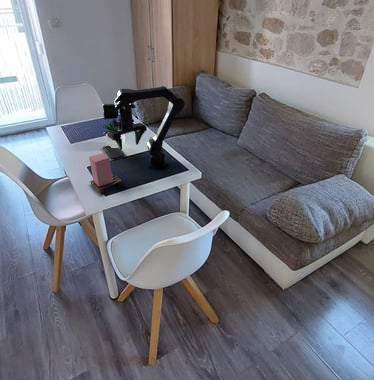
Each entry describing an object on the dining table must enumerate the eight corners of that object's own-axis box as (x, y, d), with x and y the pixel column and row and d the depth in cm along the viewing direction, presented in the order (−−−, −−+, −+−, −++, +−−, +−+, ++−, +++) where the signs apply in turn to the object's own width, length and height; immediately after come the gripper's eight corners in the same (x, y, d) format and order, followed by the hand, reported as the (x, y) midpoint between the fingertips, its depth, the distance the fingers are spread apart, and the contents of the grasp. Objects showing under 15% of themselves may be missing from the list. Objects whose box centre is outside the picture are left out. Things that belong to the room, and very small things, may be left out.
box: (107, 176, 150) (103, 152, 143) (112, 181, 146) (109, 157, 139) (93, 181, 146) (89, 156, 139) (99, 186, 142) (94, 162, 135)
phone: (110, 157, 169) (102, 146, 180) (111, 159, 170) (102, 148, 180) (124, 154, 173) (115, 143, 183) (124, 156, 173) (115, 145, 184)
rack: (112, 177, 155) (112, 172, 153) (123, 186, 148) (122, 180, 147) (90, 186, 148) (89, 180, 146) (100, 195, 142) (99, 190, 140)
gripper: (133, 108, 156) (136, 136, 164) (100, 116, 146) (104, 146, 154) (146, 114, 149) (148, 144, 157) (111, 123, 139) (115, 154, 147)
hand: (129, 147), depth 154 cm, fingers open, 9 cm apart
